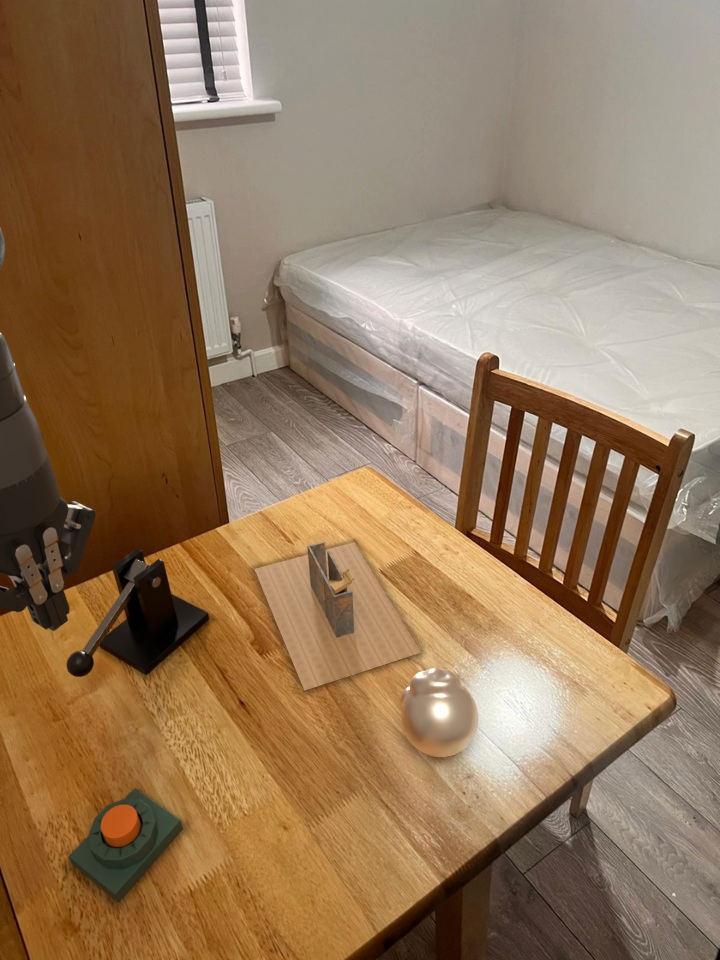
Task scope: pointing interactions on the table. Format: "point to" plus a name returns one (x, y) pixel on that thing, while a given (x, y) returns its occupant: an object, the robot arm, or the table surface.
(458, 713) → the silver rounded lump
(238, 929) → the table surface
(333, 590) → the architectural model on board
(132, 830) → the button
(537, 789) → the table surface
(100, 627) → the lever
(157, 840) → the button box
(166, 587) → the bracket
